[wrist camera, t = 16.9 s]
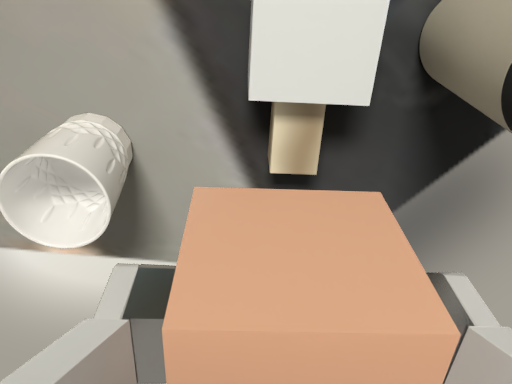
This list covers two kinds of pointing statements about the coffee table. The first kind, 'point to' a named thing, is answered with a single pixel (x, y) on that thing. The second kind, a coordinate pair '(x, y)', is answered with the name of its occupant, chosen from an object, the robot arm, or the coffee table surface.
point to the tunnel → (315, 50)
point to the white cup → (67, 182)
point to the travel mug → (472, 53)
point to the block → (301, 293)
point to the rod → (295, 137)
